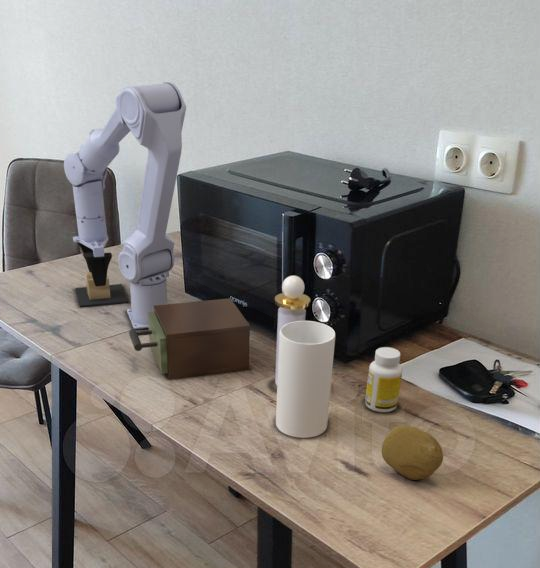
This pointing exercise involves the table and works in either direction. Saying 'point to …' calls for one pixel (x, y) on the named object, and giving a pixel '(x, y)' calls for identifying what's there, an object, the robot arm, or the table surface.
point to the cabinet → (204, 337)
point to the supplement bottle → (384, 380)
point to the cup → (304, 378)
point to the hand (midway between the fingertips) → (97, 279)
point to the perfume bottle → (290, 307)
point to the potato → (412, 452)
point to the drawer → (153, 341)
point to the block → (96, 288)
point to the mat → (116, 298)
